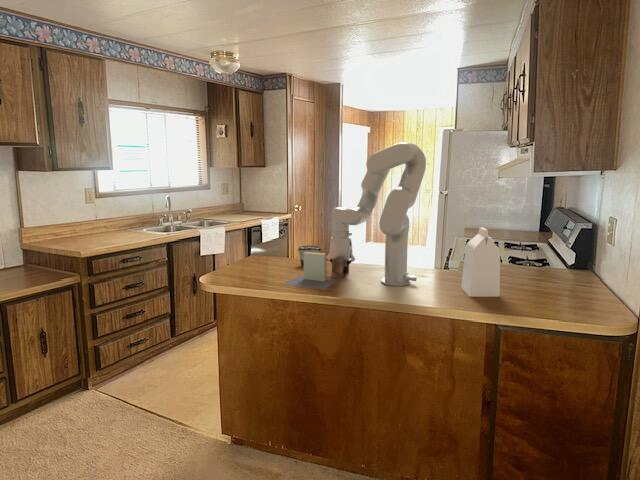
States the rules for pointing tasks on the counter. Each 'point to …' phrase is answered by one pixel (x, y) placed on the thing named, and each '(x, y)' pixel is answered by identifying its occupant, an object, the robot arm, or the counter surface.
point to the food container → (308, 249)
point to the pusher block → (338, 268)
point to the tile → (315, 266)
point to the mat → (310, 283)
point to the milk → (481, 266)
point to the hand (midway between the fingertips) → (340, 273)
